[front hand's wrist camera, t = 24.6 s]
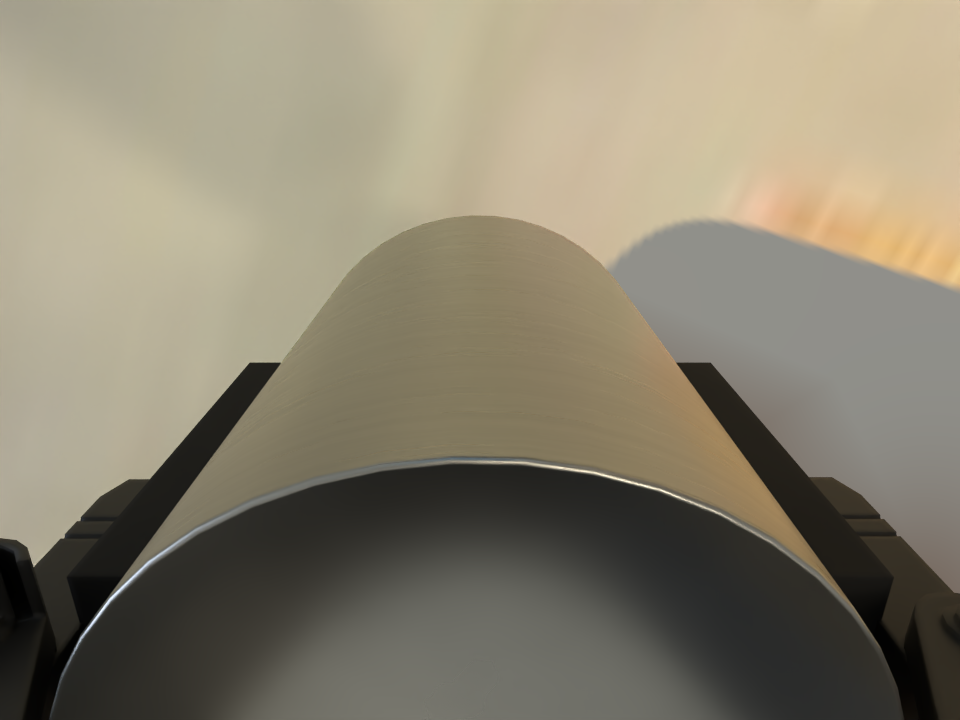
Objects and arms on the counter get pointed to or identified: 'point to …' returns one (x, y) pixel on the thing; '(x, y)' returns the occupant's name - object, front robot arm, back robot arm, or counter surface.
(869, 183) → the counter surface
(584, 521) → the canister
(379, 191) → the counter surface
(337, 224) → the counter surface
